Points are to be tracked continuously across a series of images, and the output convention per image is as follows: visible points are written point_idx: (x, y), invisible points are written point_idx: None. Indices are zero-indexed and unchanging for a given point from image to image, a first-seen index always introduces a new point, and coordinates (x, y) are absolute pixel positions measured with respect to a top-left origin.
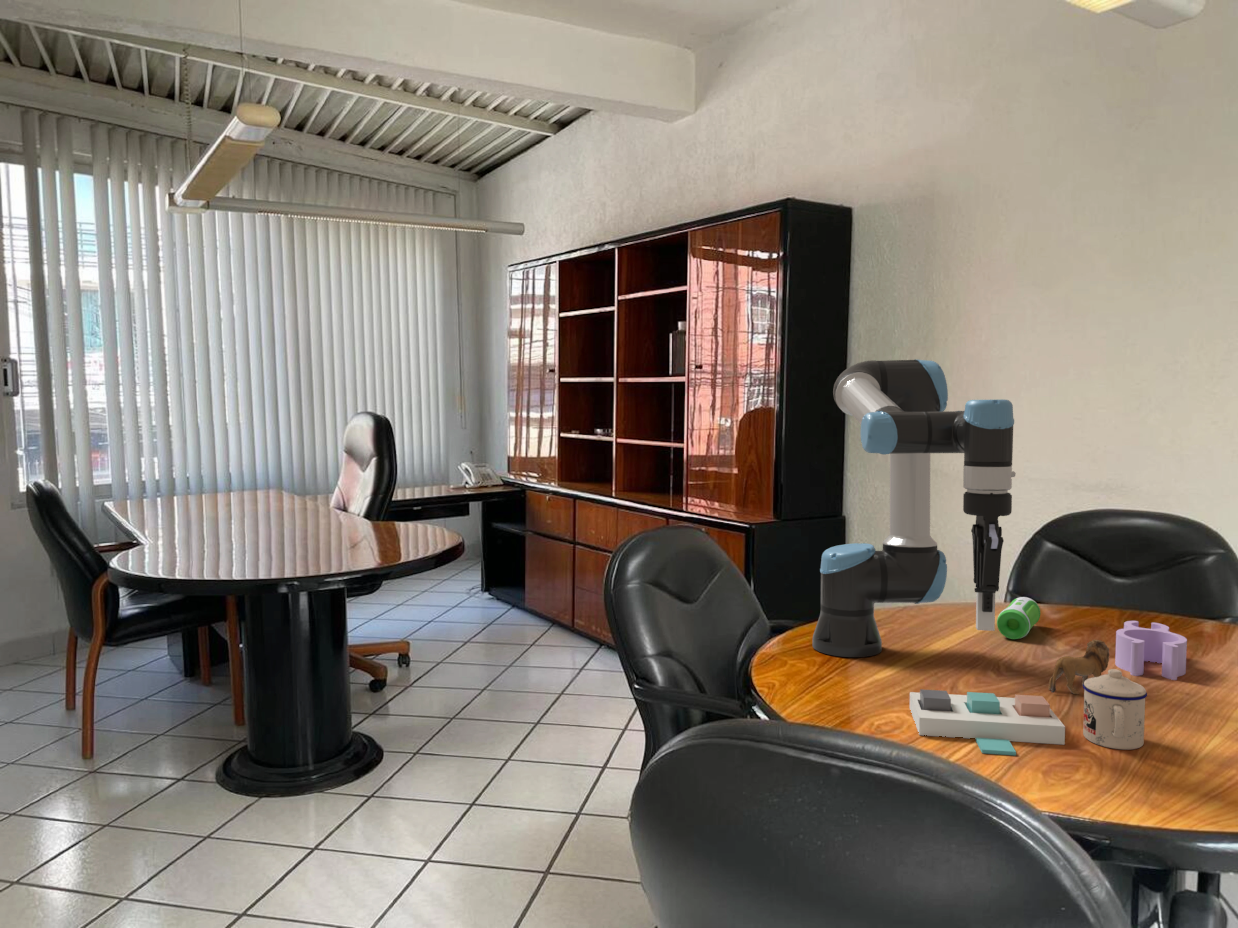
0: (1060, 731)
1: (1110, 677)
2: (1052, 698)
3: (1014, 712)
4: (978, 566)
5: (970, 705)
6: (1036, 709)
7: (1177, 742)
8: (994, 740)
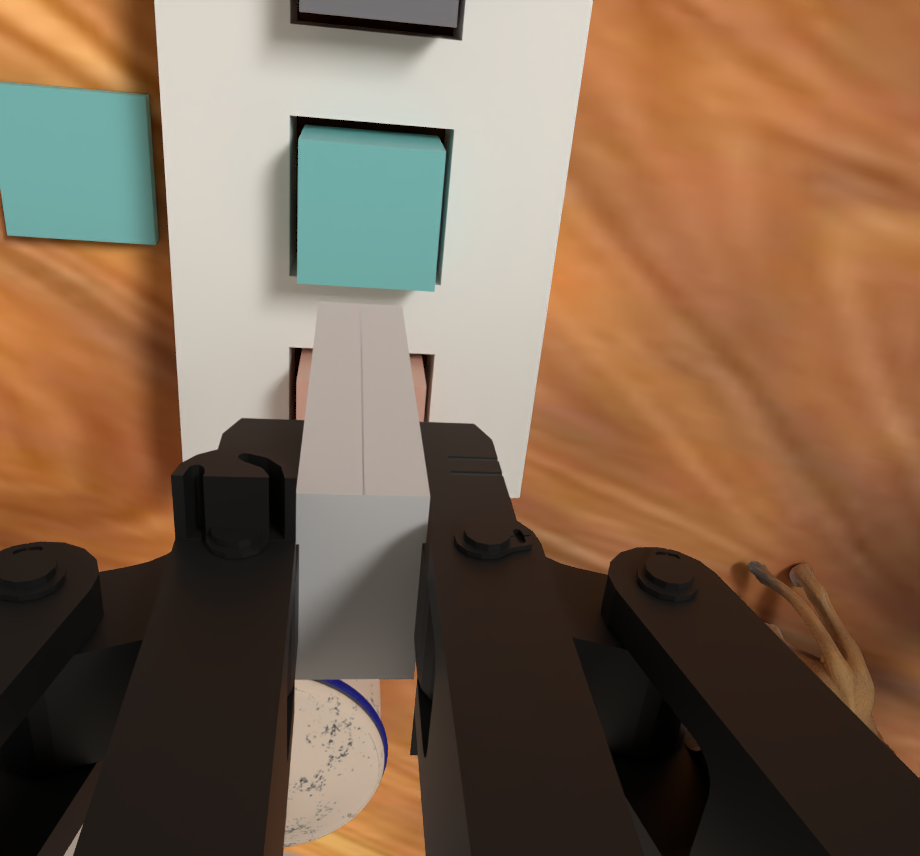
0: None
1: None
2: (707, 547)
3: None
4: (462, 837)
5: (342, 136)
6: None
7: None
8: (128, 177)
